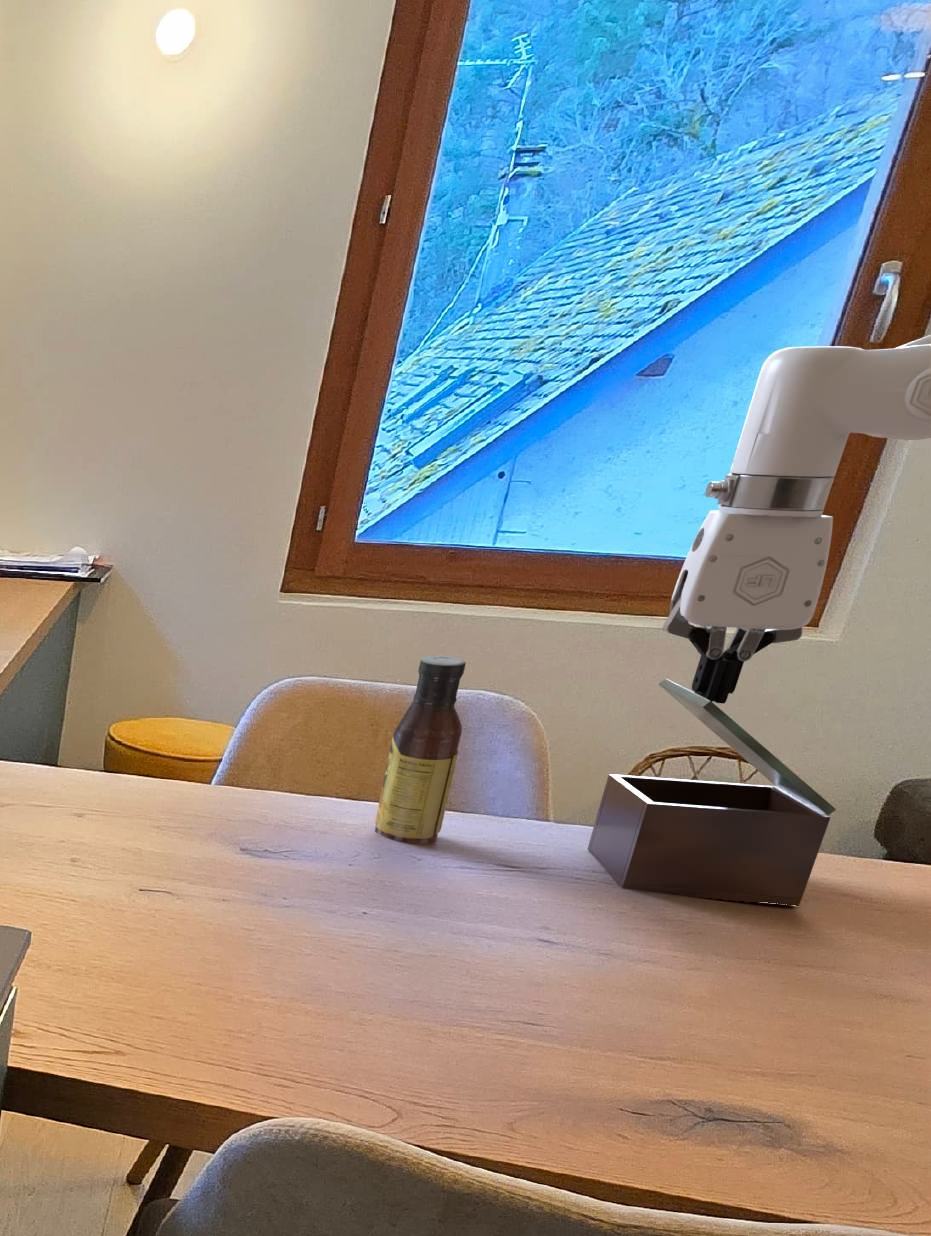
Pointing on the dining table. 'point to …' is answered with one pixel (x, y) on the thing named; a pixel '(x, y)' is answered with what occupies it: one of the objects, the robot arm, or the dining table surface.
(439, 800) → the sauce bottle
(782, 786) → the lid
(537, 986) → the dining table surface
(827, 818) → the chest
